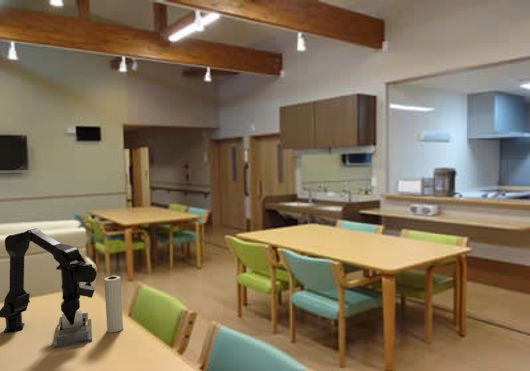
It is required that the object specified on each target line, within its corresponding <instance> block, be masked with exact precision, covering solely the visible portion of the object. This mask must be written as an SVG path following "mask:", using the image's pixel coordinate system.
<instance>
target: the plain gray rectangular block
mask: <svg viewBox="0 0 530 371" xmlns="http://www.w3.org/2000/svg"><path fill="white" fill-rule="evenodd" d="M82 313H83V310H77V311H76V312H75V319H74V324H73V325H70V323H69V321H68V320H67V318H66V316H65V315H64V313H63V312H62V313H61V317H62V329H63V330H67V329H73V328H78V327H83V319H82Z"/></svg>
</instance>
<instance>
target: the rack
mask: <svg viewBox="0 0 530 371" xmlns="http://www.w3.org/2000/svg"><path fill="white" fill-rule="evenodd" d="M82 319H83V327H78V328H73V329H67V330H63V329H62V316H59V320H58V324H56V328H55V332H54V338H53V339H54V340H53V345H52V347H53V349H59V348H63V347H68V346H74V345H78V344H79V345H80V344H84V343H90V342H93V331H92V330H93V329H92V328H93V327H92V318H89V312H82Z"/></svg>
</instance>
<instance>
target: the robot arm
mask: <svg viewBox="0 0 530 371" xmlns="http://www.w3.org/2000/svg"><path fill="white" fill-rule="evenodd" d="M31 243H33V244H35V245H37V246H38V247H40V248H42V249H43V250H45V251H46V252H48V253H50V254H51V255H52V256H53V259H54V260H55V261H56V262H57V263H58V264H59V265H58V266H56V268H55V269H56V271H57V270H58V271H61V272H60V274H61V291H62V296H61V299H62V302H61V304H60V311H61V313H62V314H63V313H64V315H65V316H66V318H67V320H68V321H69V323H70V325H73V324H74V319H75V312H76V311H79V310H80V307H81V302H80V299H81V296H82V297H86V298H91V299H92V298H93V296H94V293H95V290H96V289H95V286H93V285H92V283H93V282H94V281H95V280H96V278H97V276H98V272H97V270H96V268H95V267H93V264H91V263H87V262H86V259H85V258H84V257H83V255H81V253H80V250H79V249H78V248H77V247H75V246H73V245H70V244H63V243H61V242H59V241H58V240H56V239H54V238H52V237H51V236H50V235H47V234H46V233H44V232H43V231H41V229H39V228H32V229H28V230H26V231H24V232H18V233H14V234H9V235H7V236H6V237H5V239H4V247H5V251H6V252H7V254H8V255H9V290H8V291H7V293H6V295H5V297H4V302H3V305H2V307H1V308H0V318H3V319H4V320H5V328H4V330H3V333H4V334H5V333H10V332H11V333H12V332H16V331H22V330H23V329H24V328H25V327H24V326H25V322H23V315H22V314H23V313H24V312H26V311H27V310H28V306H29V303H31V302H30V295H31V294H30V292H27V291H26V290H25V255H26V253H27V251H28V250H29V249H30V244H31ZM80 283H84V284H80Z"/></svg>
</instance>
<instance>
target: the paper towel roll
mask: <svg viewBox="0 0 530 371" xmlns="http://www.w3.org/2000/svg"><path fill="white" fill-rule="evenodd" d="M103 280H104V294H105V295H104V298H105V311H106V313H105V315H106V330H107V332H108V333H117V332H120V331H122V330H123V329H124V322H123V320H124V318H123V302H122V285H121V284H122V283H121V276H119V275H113V274H111V275H110V276H107V277H104V279H103Z"/></svg>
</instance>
